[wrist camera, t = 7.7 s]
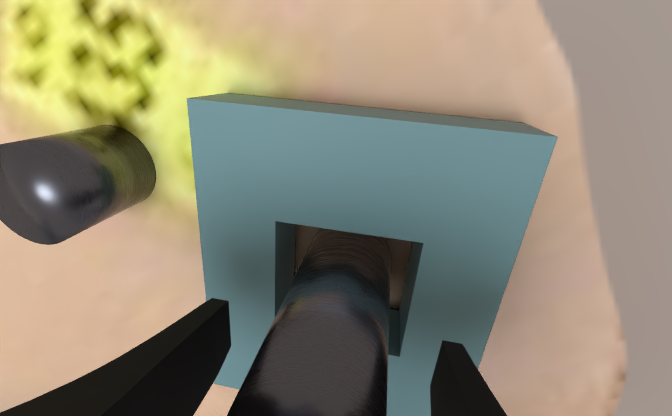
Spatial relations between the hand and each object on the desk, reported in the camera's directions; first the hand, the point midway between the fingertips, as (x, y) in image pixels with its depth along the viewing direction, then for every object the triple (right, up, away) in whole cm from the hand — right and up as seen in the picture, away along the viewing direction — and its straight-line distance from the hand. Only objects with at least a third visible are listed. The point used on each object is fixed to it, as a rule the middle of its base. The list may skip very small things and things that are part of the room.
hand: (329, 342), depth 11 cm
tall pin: (+1, +2, +5) cm, 6 cm away
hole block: (+1, +2, +5) cm, 6 cm away
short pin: (-11, +7, +5) cm, 14 cm away
